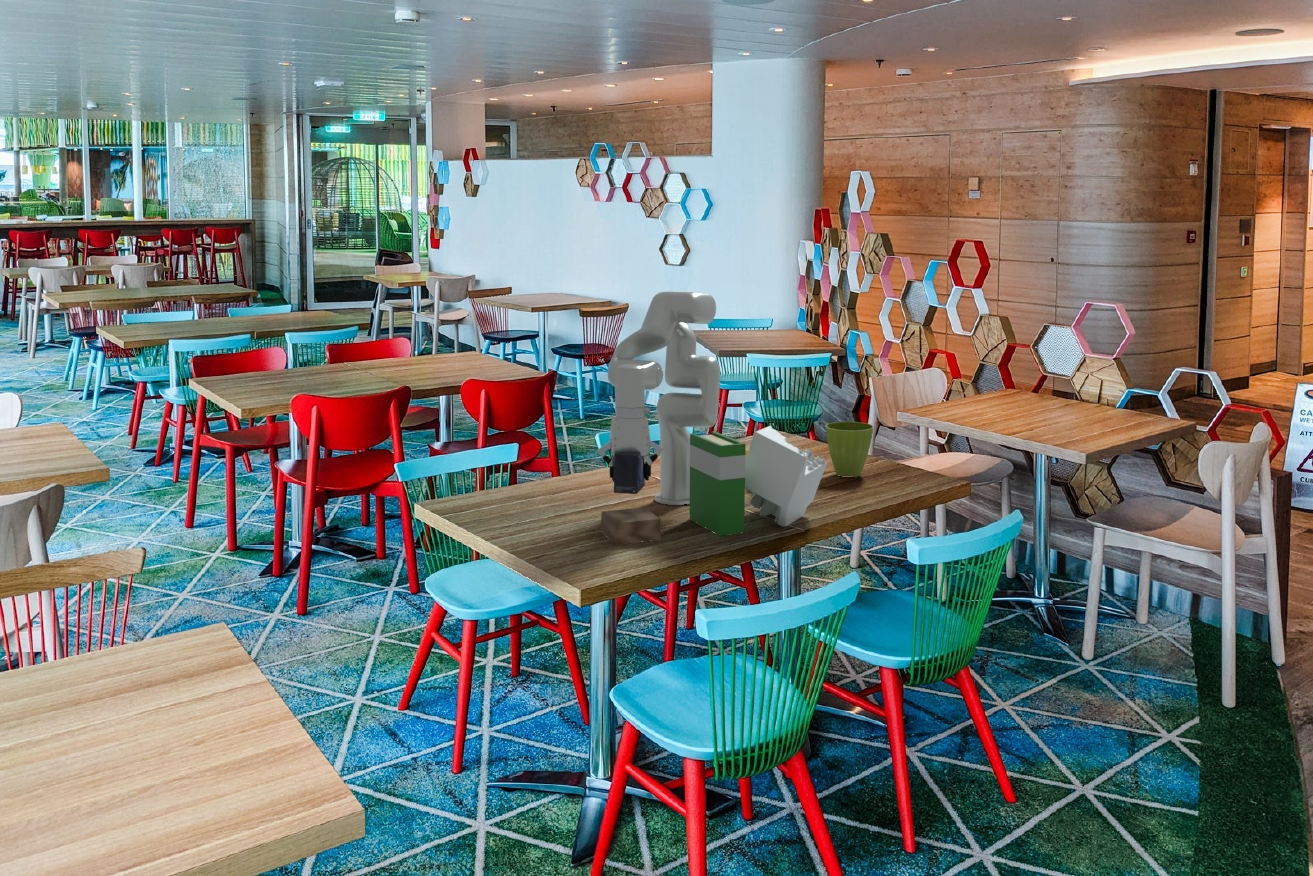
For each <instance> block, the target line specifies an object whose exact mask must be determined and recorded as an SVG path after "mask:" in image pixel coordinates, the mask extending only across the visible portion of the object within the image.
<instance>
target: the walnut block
mask: <svg viewBox="0 0 1313 876" xmlns="http://www.w3.org/2000/svg"><path fill="white" fill-rule="evenodd" d="M600 517H601V534H603V535H604V536H605V537H606V536H607V537H608V538H607V537H606V538H607V539H609V541H611V540H612V541H613V542H614V543H615V544H614V543H613V542H612V541H611V542H612V543H613V544H614V545H615V546H619V544H622V545H628V544H627V543H631V544H636V543H635V542H640V543H642V542H641V541H649V542H651V541H650V540H658V541H661V518H660V517H659V516H658V515H656V514H654V513H653V512H652V511H650V510H649V509H647V508H646V507H645V506H644V507H634V508H623V509H615V510H604V511H603V510H602V511H601V516H600Z"/></svg>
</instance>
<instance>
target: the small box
mask: <svg viewBox="0 0 1313 876" xmlns="http://www.w3.org/2000/svg"><path fill="white" fill-rule="evenodd" d="M645 462H646V460H645V459H644V457H641V452H616V453H614V482H613V493H614V494H628V495H630V494H631V495H638V493H639V492H640V491H642V489H643V488H644V487H645V486H646V480H645V478H644V464H645Z"/></svg>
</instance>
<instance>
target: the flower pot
mask: <svg viewBox="0 0 1313 876" xmlns="http://www.w3.org/2000/svg"><path fill="white" fill-rule="evenodd" d="M873 433H874V425H872V424H871V423H866V422H859V421H858V422H857V421H836V422H830V423H826V424H825V435H826V440H827V447H828V450H829V455H830V458H831V461H832V462H831V463H832V465H833V467H834V471H835V474H836V476H837V475H840V476H859V477H860V476H861V475H862V472H863V470H864V467H865V465H866V462H867V459H868V457H869V452H870V447H871V443H872V440H873V439H872V438H873Z"/></svg>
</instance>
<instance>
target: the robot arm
mask: <svg viewBox="0 0 1313 876" xmlns="http://www.w3.org/2000/svg"><path fill="white" fill-rule="evenodd" d="M716 313H717V304H716V299H715V297H714V296H712V295H711V294H710V293H701V292H694V291H692V292H691V291H661V292H658V293H657V294H655V295H654V296H653V298H652V299H651V302H650V304H649V306H648V309H647V312H646V314H645V317H644V319H643V322H642V323H641V327H640V329H638V330H637V331H634V332H633V333H632V334H630V335H628V336H627V337H626V338H625V339H623V340H622V341H620V342H619V344H618V345H617V346H616V348H615V350H614V351H613V354H612V357H611V358H610V361H609V365H608V369H607V380H608V382H609V384H610V385H611V386H612V387H615V390H614V391H615V392H614V393H615V395H614V398H615V399H614V401H615V402H614V404H615V405H614V406H615V407H614V408H615V409H614V410H615V416H614V417H612V419H611V423H610V430H609V431H610V433H609V441H608V442H607V443H605V444H603V445H602V446H600V447H599V448H598V449H597V453H598V454H599V456H600V457H601V459H602V460H603V461H604V462H605V463H606V464H607V465H608V466H609V479H611V480H612V482H613V483H614V453H616V452H641V457H644V459H645V464H644V478H645V481H649V479H650V477H652V465H653V464H654V462H656V460H657V459H658V457H659V464H660V465H659V472H660V473H659V479H660V480H659V486H660V487H659V489H660V490H659V493H657V494H655V496H654V501H655V502H656V503H658V504H662V505H666V504H667V506H685V505H684V504H687V505H690V434H691V433H690V432H689V430H688V429H687V428H689V427H690V428H701V429H705V428H707V429H708V428H712V427H714V426H715V424H716V423H717V419H718V414H719V405H720V404H719V403H720V400H719V399H720V389H721V388H720V387H721V386H720V385H721V368H720V367H721V366H720V363H719V361H718V360H717V359H716V358H715V357H713V356H708V355H697V335H696V334H695V333H694V332H695V331H693V328H691V326H690V325H689V324H697V325H709V324H710V323H711V322H713V320H714V318H715V316H716ZM663 348H666V349H665V353H666V354H665V365H664V370H663V368H662V366H661V364H660V363H658V362H657V361H654V360H645V359H644V360H643V359H635V358H638V357H640V356H644V355H647V354H650V353H654V352H656V351H659V350H662V349H663ZM663 380H664V381H665V383H666V384H667V385H668V386H669V387H671V388H677V389H687V390H688V389H689V390H701V393H690V392H688V393H687V392H668V393H664V394H661V396H659V398H658V400H657V404H656V413H657V414H656V415H657V420H658V425H659V442H660V444H659V445H658V444H657V443H656V442H654V441H653V440H651V436H650V435H651V434H650V433H651V432H650V427H649V420H648V416H646V415H647V414H651V407H647V406H645V405H646V404H645V403H646V396H645V393H646V391H647V390H648V391H650V390H651V391H652V390H655V389H657V388H658V387H659V386H660V385H661V383H662V382H663ZM651 448H652V449H654V452H653V453H652V454H651ZM607 450H609V452H610V454H611V456H610V457H609V455H607V454H606V451H607ZM650 454H651V455H650ZM649 455H650V456H649Z"/></svg>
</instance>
